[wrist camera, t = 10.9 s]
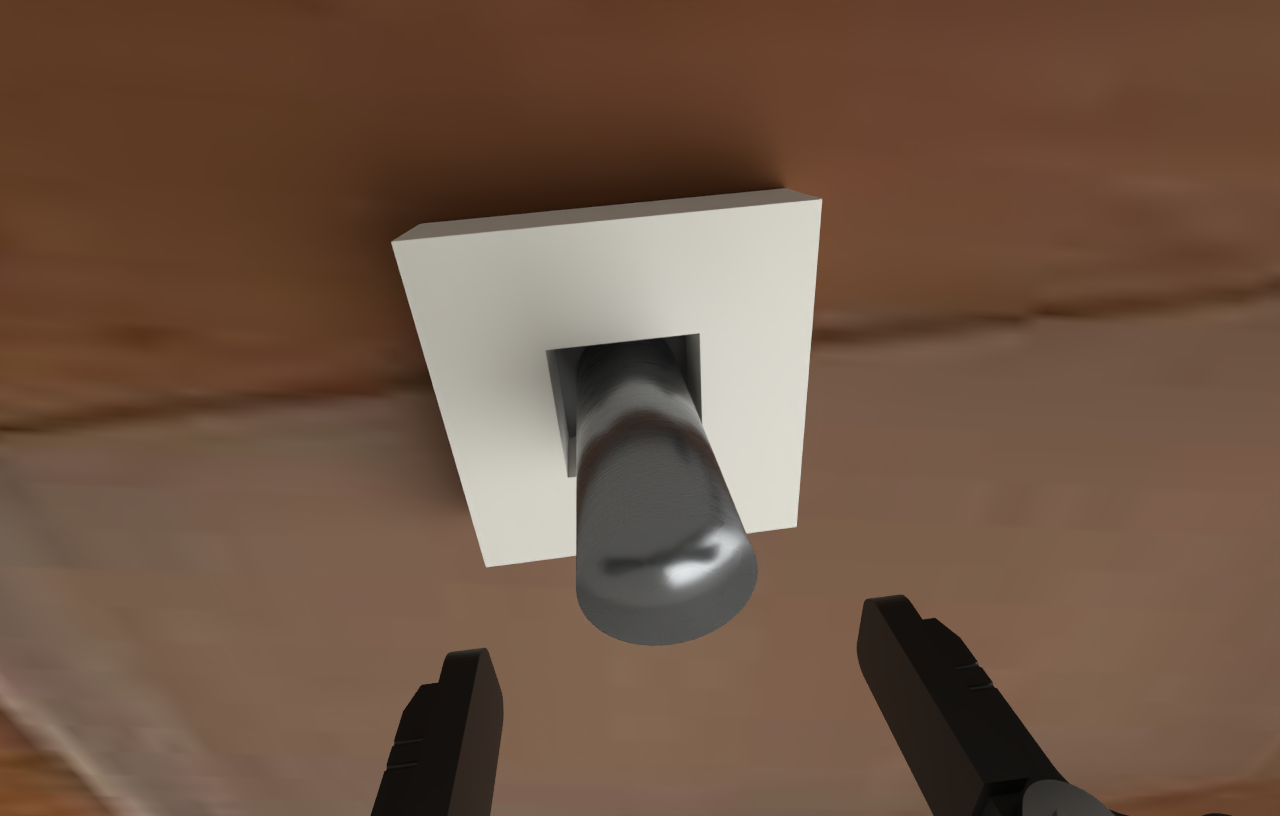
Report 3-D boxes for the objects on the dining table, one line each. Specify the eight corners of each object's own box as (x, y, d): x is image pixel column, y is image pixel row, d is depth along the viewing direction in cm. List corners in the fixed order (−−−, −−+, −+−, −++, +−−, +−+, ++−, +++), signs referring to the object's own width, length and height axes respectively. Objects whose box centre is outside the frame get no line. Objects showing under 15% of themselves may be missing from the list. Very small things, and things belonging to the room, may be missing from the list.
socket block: (785, 188, 21) (822, 199, 18) (772, 481, 27) (796, 526, 24) (420, 223, 20) (391, 241, 17) (496, 515, 27) (485, 567, 24)
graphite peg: (675, 320, 22) (760, 501, 12) (678, 412, 25) (754, 632, 14) (570, 332, 22) (564, 525, 12) (583, 422, 24) (587, 656, 14)
